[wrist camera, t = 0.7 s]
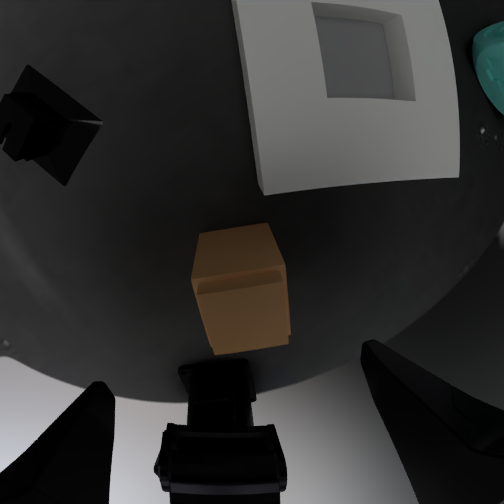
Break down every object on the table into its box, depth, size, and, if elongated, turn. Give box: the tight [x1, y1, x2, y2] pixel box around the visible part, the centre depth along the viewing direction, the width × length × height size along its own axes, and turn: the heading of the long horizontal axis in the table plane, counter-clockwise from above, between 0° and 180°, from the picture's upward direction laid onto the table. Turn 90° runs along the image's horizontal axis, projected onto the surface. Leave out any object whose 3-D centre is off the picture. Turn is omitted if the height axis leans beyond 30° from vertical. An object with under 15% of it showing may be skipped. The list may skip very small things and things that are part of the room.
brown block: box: [191, 222, 291, 355], centre depth 17 cm, size 5×5×7 cm
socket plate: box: [231, 0, 460, 195], centre depth 13 cm, size 16×14×4 cm
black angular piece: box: [0, 65, 103, 186], centre depth 13 cm, size 12×7×5 cm, turn 48°
